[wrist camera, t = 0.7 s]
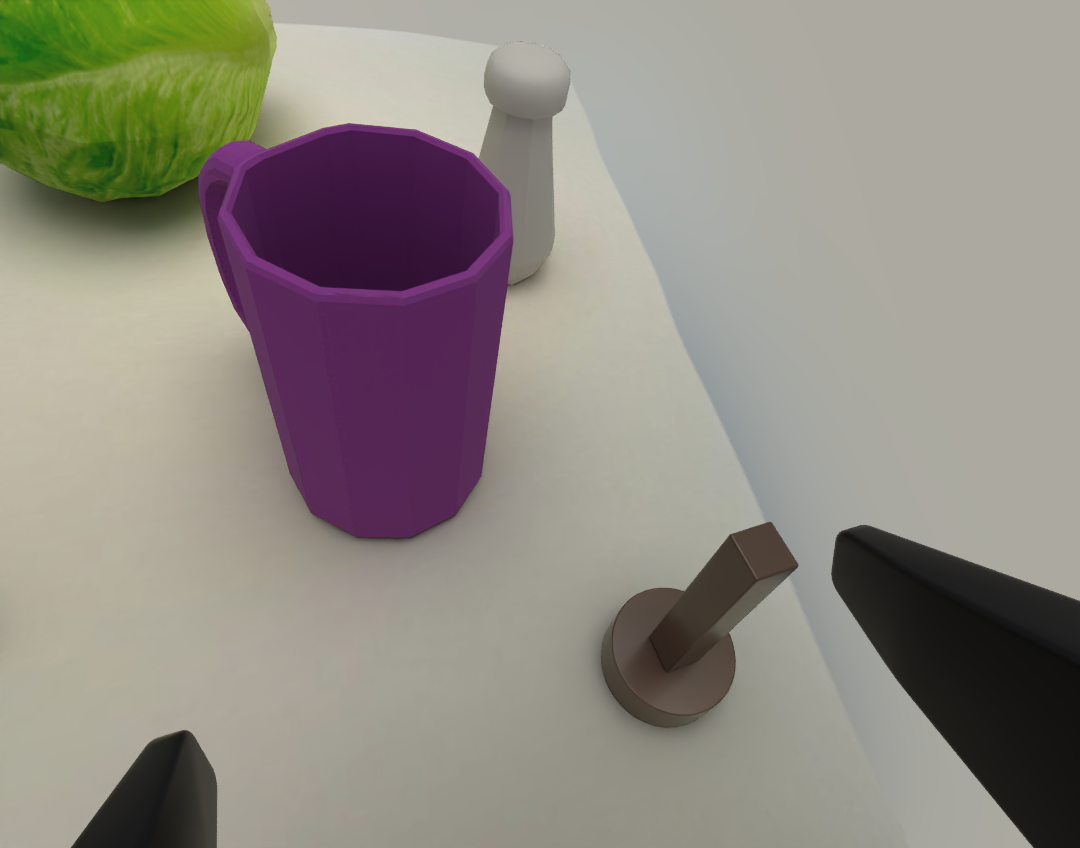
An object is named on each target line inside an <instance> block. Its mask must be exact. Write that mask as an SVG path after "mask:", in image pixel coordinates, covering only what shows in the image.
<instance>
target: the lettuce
mask: <svg viewBox="0 0 1080 848" xmlns="http://www.w3.org/2000/svg"><path fill="white" fill-rule="evenodd" d="M276 47H277V36H276V33H275V30H274V27H273V21H272V17H271V12H270V8H269V6H268V4H267V3H266V1H265V0H0V163H2V164H4V165H6V166H8V167H10V168H12V169H14V170H16V171H18V172H20V173H22V174H24V175H26V176H28V177H30V178H32V179H34V180H36V181H38V182H40V183H42V184H44V185H46V186H49V187H52V188H55V189H59V190H62V191H65V192H69V193H72V194H75V195H79V196H82V197H85V198H89V199H92V200H95V201H99V202H106V201H110V200H114V199H118V198H130V197H151V196H161V195H163V194H164V193H166V192H168V191H170V190H172V189H174V188H176V187H178V186H179V185H181V184H183V183H185V182H187V181H189V180H191V179H194V178H196V177H198V176H199V173H200V171H201V169H202V167H203V165H204V164H205V162H206V161H207V159H208V158H209V157H210V155H211V154H212V153H213V152H214V151H216V150H217V149H219V148H220V147H222V146H224V145H226V144H228V143H230V142H232V141H242V140H248V141H249V140H250V138H251V136H252V134H253V132H254V130H255V128H256V126H257V121H258V117H259V113H260V108H261V104H262V100H263V96H264V92H265V88H266V84H267V81H268V77H269V73H270V68H271V63H272V59H273V56H274V53H275V50H276Z"/></svg>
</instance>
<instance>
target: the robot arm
mask: <svg viewBox="0 0 1080 848" xmlns="http://www.w3.org/2000/svg"><path fill="white" fill-rule="evenodd" d="M831 575H832V581H833V584H834V586H835V589H836V590H837V592H838V593H839V595H840V596H841V598H842V599H843V601H844V602H845V604H846V605H847V607H848V608H849V610H850V611H851V613H852V614H853V616H854V617H855V619H856V620H857V622H858V623H859V625H860V626H861V628H862V629H863V631H864V632H865V634H866V635H867V637H868V638H869V640H870V641H871V643H872V644H873V646H874V647H875V649H876V650H877V652H878V653H879V655H880V656H881V658H882V659H883V661H884V662H885V664H886V665H887V667H888V668H889V670H890V671H891V672H892V674H893V675H894V677H895V678H896V679H897V681H898V682H899V683H900V684H901V686H902V687H903V688H904V690H905V691H906V692H907V693H908V694H909V696H910V697H911V698H912V700H913V701H914V702H915V703H916V704H917V705H918V707H919V708H920V709H921V711H922V712H923V713H924V714H925V715H926V717H927V718H928V719H929V720H930V722H931V723H932V724H933V725H934V727H935V728H936V729H937V730H938V731H939V732H940V734H941V735H942V736H943V738H944V739H945V740H946V741H947V742H948V743H949V745H950V746H951V747H952V749H953V750H954V751H955V752H956V753H957V755H958V756H959V757H960V758H961V759H962V761H963V762H964V763H965V764H966V766H967V767H968V768H969V769H970V771H971V772H972V773H973V774H974V776H975V777H976V778H977V779H978V780H979V782H980V783H981V784H982V785H983V787H984V788H985V789H986V790H987V791H988V793H989V794H990V795H991V796H992V798H993V799H994V800H995V801H996V802H997V804H998V805H999V806H1000V807H1001V808H1002V810H1003V811H1004V812H1005V814H1006V815H1007V816H1008V817H1009V818H1010V820H1011V821H1012V822H1013V823H1014V825H1015V826H1016V827H1017V828H1018V829H1019V831H1020V832H1021V833H1022V834H1023V836H1024V837H1025V838H1026V839H1027V840H1028V842H1029V843H1030V844H1031V845H1032V846H1033V848H1080V601H1078V600H1075V599H1073V598H1070V597H1067V596H1064V595H1062V594H1059V593H1056V592H1053V591H1050V590H1048V589H1045V588H1042V587H1039V586H1036V585H1034V584H1031V583H1028V582H1025V581H1022V580H1020V579H1017V578H1014V577H1011V576H1009V575H1006V574H1003V573H1000V572H997V571H995V570H992V569H989V568H986V567H983V566H981V565H978V564H975V563H972V562H969V561H966V560H964V559H961V558H958V557H955V556H953V555H950V554H947V553H944V552H941V551H938V550H936V549H933V548H930V547H927V546H925V545H922V544H919V543H916V542H913V541H911V540H908V539H905V538H902V537H900V536H896V535H894V534H891V533H888V532H886V531H883V530H880V529H877V528H874V527H871V526H868V525H860V526H857V527H854V528H850V529H847V530H843V531H841V532H840V533H839V534H838V535H837V537H836V541H835V549H834V556H833V565H832V573H831ZM71 848H217V782H216V777H215V773H214V770H213V768H212V766H211V764H210V763H209V761H208V759H207V757H206V756H205V754H204V752H203V751H202V749H201V747H200V745H199V744H198V742H197V740H196V738H195V737H194V735H193V734H192V733H191V732H189V731H187V730H182V731H179V732H175V733H172V734H169V735H165V736H162V737H159V738H156V739H154V740H152V741H151V742H150V743H149V744H148V745H147V746H146V747H145V748H144V750H143V751H142V752H141V754H140V755H139V756H138V758H137V759H136V760H135V762H134V763H133V764H132V766H131V767H130V769H129V770H128V771H127V773H126V774H125V775H124V777H123V778H122V779H121V781H120V782H119V783H118V785H117V786H116V787H115V789H114V790H113V791H112V793H111V794H110V796H109V797H108V798H107V800H106V801H105V802H104V804H103V805H102V806H101V808H100V809H99V810H98V812H97V813H96V814H95V816H94V817H93V819H92V820H91V821H90V823H89V824H88V825H87V827H86V828H85V829H84V831H83V832H82V833H81V835H80V836H79V837H78V839H77V840H76V842H75V843H74V844H73V846H72V847H71Z"/></svg>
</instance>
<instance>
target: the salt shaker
mask: <svg viewBox="0 0 1080 848" xmlns="http://www.w3.org/2000/svg"><path fill="white" fill-rule="evenodd" d="M569 86H570V69H569V68H568V66H567V64H566V63H565V61H564V60H563V58H562V56H561V55H560V54H558V53H557V52H555V51H554V50H552V49H551V48H548V47H546V46H543V45H540V44H537V43H530V42H522V41H520V42H510V43H506V44H504V45H502V46H500V47H498V48H497V49H496V50H494V51H493V52H492V53H491V55H490V57H489V59H488V62H487V66H486V70H485V73H484V88H485V92H486V95H487V97H488V99H489V101H490V103H491V104H492V105H493V109H492V112H491V116H490V120H489V123H488V127H487V130H486V134H485V138H484V141H483V145H482V149H481V152H480V156H479V160H480V161H481V162H482V163H483V164H484V165H485V166H486V167H487V168H488V169H489V170H490V171H491V173H492V174H493V175H494V176H495V177H496V178H497V179H498V180H499V181H500V182H501V183H502V184H503V185H504V186H505V187H506V188H507V189H508V190H509V193H510V197H511V211H512V225H513V239H514V241H513V248H512V256H511V263H510V270H509V277H508V284H510V285H514V284H516V283H518V282H520V281H522V280H524V279H526V278H528V277H530V276H532V275H534V274H535V272H536V271H537V270H538V269H539V267H540V266H541V265H542V264H543V262H544V261H545V260H546V259H547V257H548V256H549V255H550V252H551V250H552V246H553V242H554V237H555V225H554V190H553V155H552V116H554V115H556V114H557V113H559V112H560V111H562V109H563V108H564V106H565V103H566V99H567V94H568V90H569Z"/></svg>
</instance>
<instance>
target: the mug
mask: <svg viewBox="0 0 1080 848" xmlns="http://www.w3.org/2000/svg"><path fill="white" fill-rule="evenodd" d="M198 196H199V201H200V205H201V209H202V214H203V218H204V223H205V227H206V232H207V236H208V239H209V242H210V245H211V248H212V251H213V254H214V257H215V260H216V264H217V267H218V270H219V273H220V275H221V278H222V281H223V283H224V285H225V288H226V290H227V293H228V295H229V297H230V300H231V302H232V304H233V307H234V309H235V310H236V312H237V313H238V315H239V317H240V318H241V320H242V321H243V323H244V324H245V326H246V327H247V329H248V330H249V332H250V335H251V338H252V342H253V345H254V349H255V352H256V356H257V359H258V363H259V366H260V370H261V373H262V377H263V380H264V384H265V387H266V391H267V394H268V398H269V401H270V405H271V408H272V412H273V415H274V419H275V422H276V426H277V429H278V433H279V436H280V440H281V443H282V447H283V450H284V454H285V457H286V461H287V464H288V468H289V472H290V474H291V476H292V478H293V480H294V482H295V484H296V485H297V487H298V489H299V491H300V493H301V495H302V496H303V498H304V500H305V502H306V504H307V506H308V508H309V509H310V511H311V513H312V514H314V515H316V516H318V517H320V518H322V519H323V520H325V521H327V522H329V523H331V524H333V525H335V526H337V527H339V528H341V529H342V530H344V531H346V532H348V533H350V534H352V535H354V536H356V537H384V538H410V537H412V536H414V535H416V534H418V533H420V532H422V531H424V530H426V529H428V528H430V527H432V526H434V525H436V524H438V523H440V522H442V521H444V520H446V519H448V518H450V517H452V516H454V515H455V514H456V513H457V512H458V510H459V509H460V507H461V506H462V504H463V503H464V501H465V500H466V498H467V497H468V495H469V494H470V492H471V491H472V489H473V488H474V486H475V485H476V483H477V482H478V480H479V479H480V477H481V474H482V467H483V459H484V452H485V445H486V437H487V430H488V423H489V416H490V408H491V401H492V394H493V387H494V379H495V372H496V365H497V357H498V350H499V343H500V336H501V328H502V321H503V314H504V307H505V299H506V292H507V285H508V277H509V270H510V263H511V256H512V248H513V241H514V239H513V225H512V211H511V197H510V193H509V190H508V189H507V188H506V187H505V186H504V185H503V184H502V183H501V182H500V181H499V180H498V179H497V178H496V177H495V176H494V175H493V174H492V173H491V171H490V170H489V169H488V168H487V167H486V166H485V165H484V164H483V163H482V162H481V161H480V160H479V159H478V158H477V157H476V156H475V155H474V154H473V153H471V152H469V151H466V150H464V149H461V148H459V147H457V146H454V145H452V144H449V143H447V142H445V141H442V140H440V139H437V138H435V137H433V136H430V135H428V134H425V133H423V132H420V131H418V130H414V129H403V128H393V127H382V126H372V125H361V124H351V123H348V124H343V125H337V126H332V127H326V128H322V129H319V130H317V131H314V132H311V133H309V134H306V135H303V136H301V137H298V138H296V139H293V140H290V141H288V142H285V143H283V144H280V145H277V146H275V147H272V148H269V149H265V148H263V147H261V146H259V145H257V144H254V143H252V142H250V141H248V140H242V141H232V142H230V143H228V144H226V145H224V146H222V147H220V148H219V149H217V150H216V151H214V152H213V153H212V154H211V155H210V157H209V158H208V159H207V161H206V162H205V164H204V165H203V167H202V169H201V171H200V173H199V181H198Z"/></svg>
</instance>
